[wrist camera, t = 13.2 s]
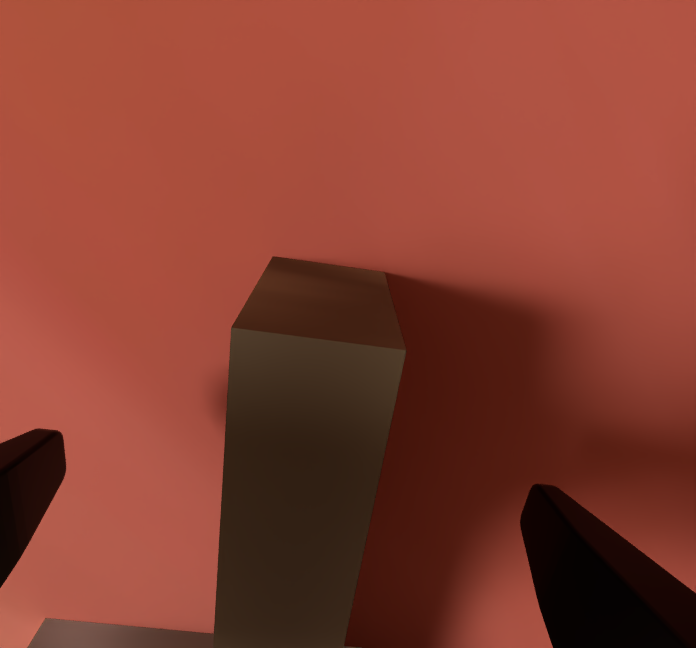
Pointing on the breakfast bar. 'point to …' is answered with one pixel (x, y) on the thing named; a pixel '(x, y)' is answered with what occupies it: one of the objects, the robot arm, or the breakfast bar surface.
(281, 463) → the scraper
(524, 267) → the breakfast bar surface
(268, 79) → the breakfast bar surface
